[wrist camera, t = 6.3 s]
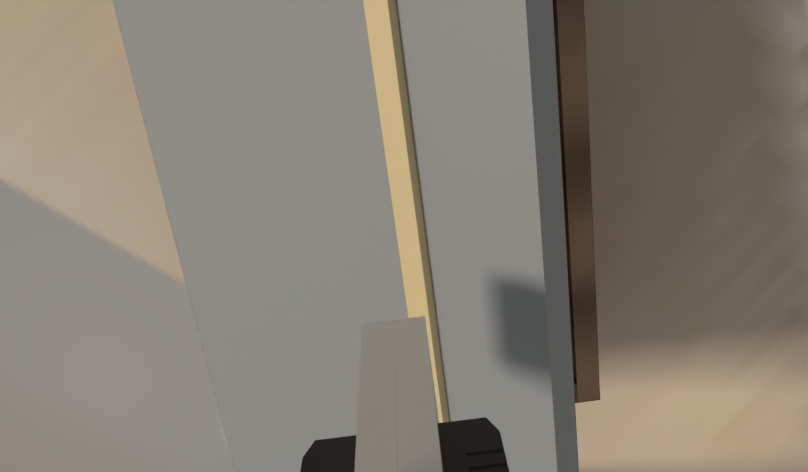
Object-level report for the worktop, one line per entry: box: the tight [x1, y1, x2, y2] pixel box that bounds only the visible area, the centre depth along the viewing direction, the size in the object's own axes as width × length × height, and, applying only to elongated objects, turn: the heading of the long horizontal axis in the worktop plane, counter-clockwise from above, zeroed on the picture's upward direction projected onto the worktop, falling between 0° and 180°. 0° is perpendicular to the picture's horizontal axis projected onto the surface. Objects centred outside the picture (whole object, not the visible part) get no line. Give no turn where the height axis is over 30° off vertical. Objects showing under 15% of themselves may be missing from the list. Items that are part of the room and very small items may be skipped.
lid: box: [113, 0, 579, 472], centre depth 25 cm, size 23×17×2 cm
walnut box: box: [553, 0, 600, 403], centre depth 34 cm, size 22×16×7 cm
